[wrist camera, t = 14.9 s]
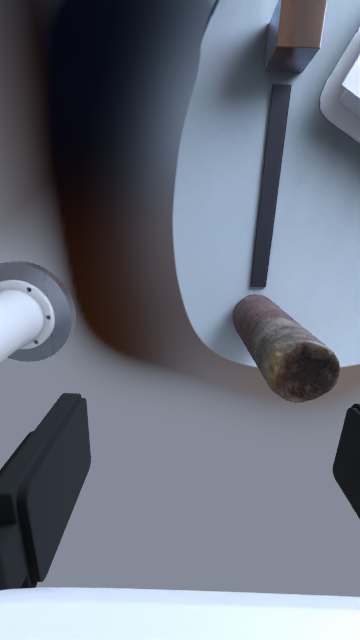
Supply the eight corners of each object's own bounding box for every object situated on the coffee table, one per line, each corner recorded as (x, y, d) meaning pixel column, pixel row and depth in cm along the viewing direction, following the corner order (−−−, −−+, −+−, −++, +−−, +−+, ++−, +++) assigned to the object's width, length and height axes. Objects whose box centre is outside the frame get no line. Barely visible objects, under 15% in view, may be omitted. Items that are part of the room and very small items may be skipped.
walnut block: (264, 71, 36) (276, 46, 32) (269, 22, 35) (282, -11, 30) (302, 72, 36) (320, 48, 32) (309, 24, 35) (328, -10, 30)
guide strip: (250, 286, 45) (250, 286, 45) (272, 85, 37) (273, 84, 36) (265, 286, 45) (265, 287, 44) (290, 85, 37) (291, 84, 36)
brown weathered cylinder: (280, 329, 47) (347, 394, 28) (239, 342, 48) (276, 415, 29) (269, 287, 45) (332, 327, 26) (225, 302, 46) (256, 352, 27)
